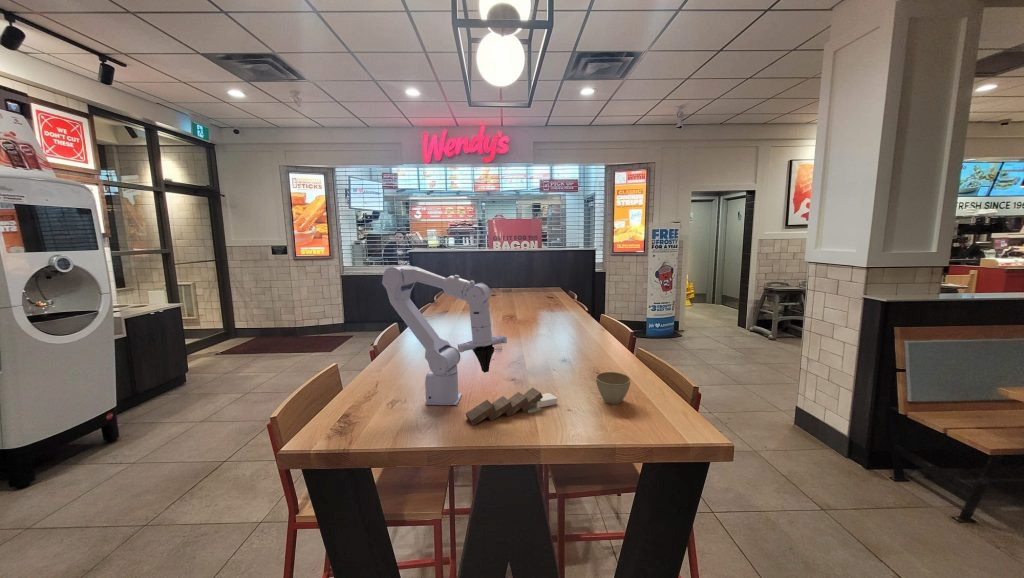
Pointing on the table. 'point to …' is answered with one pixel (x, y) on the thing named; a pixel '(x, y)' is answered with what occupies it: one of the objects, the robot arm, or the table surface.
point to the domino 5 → (546, 400)
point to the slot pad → (533, 409)
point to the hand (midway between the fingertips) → (485, 371)
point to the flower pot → (613, 386)
